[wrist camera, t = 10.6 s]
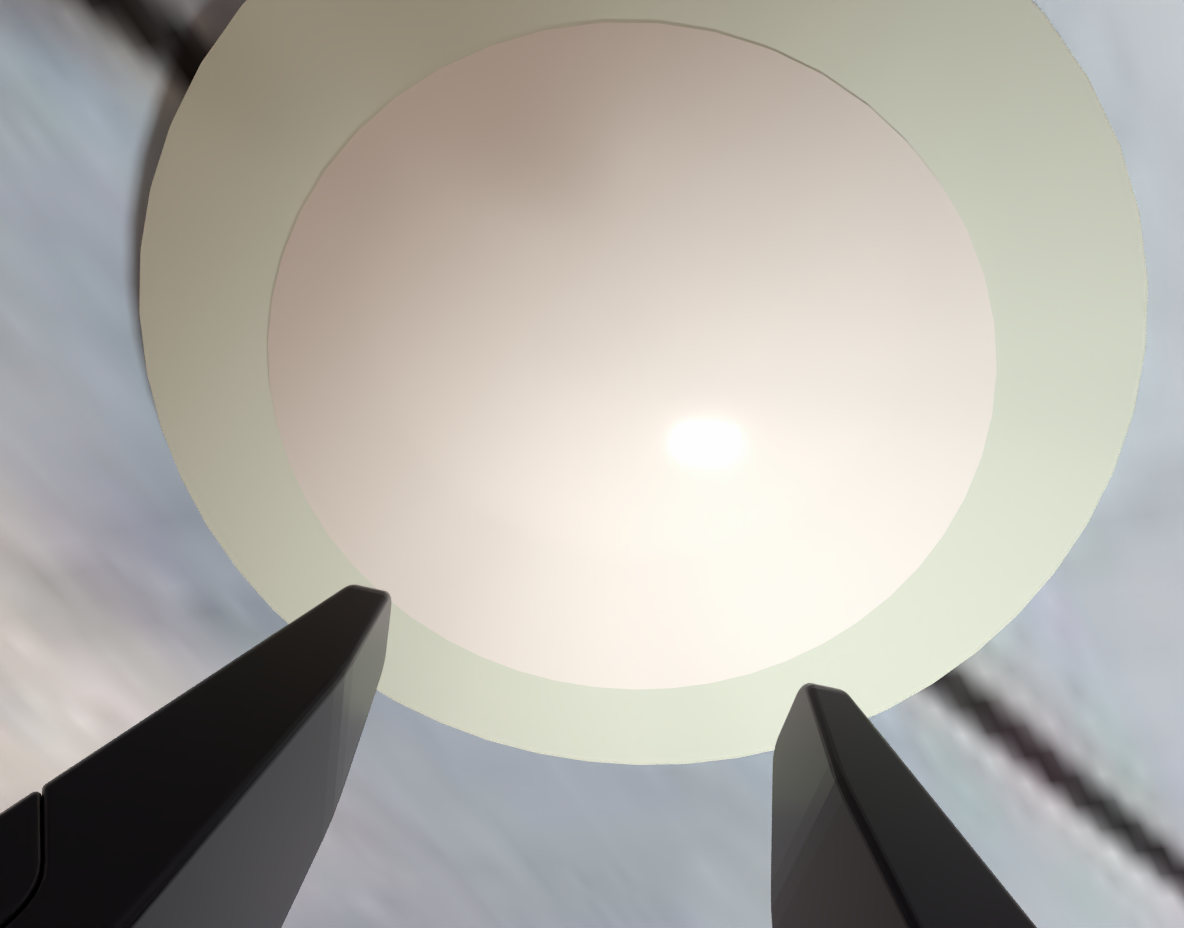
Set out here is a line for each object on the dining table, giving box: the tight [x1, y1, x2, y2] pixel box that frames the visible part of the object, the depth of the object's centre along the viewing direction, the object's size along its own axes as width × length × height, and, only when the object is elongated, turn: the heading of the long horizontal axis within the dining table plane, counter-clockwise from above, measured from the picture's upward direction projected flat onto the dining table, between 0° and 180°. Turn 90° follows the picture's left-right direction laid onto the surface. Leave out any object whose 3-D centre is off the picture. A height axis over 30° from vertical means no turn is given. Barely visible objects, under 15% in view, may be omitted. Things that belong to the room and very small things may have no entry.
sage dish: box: [139, 0, 1148, 765], centre depth 14 cm, size 15×15×1 cm
